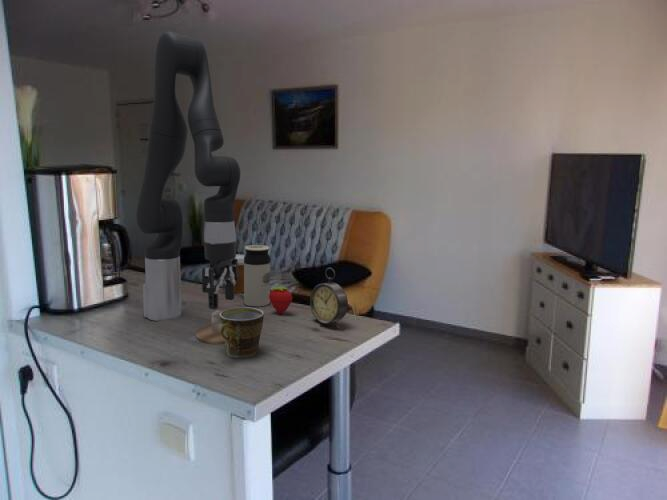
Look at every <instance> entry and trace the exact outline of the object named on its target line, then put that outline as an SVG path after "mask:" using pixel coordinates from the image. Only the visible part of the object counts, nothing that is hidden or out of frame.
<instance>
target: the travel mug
mask: <svg viewBox="0 0 667 500" xmlns="http://www.w3.org/2000/svg"><path fill="white" fill-rule="evenodd" d="M244 249H245V254H244V255H245V257H244V292H243V302H244V305H246V306H248V307H251V308H257V307H258V308H259V307H265V306H268V305H269V304H271V302H270V299H269V294H270V292H271V257H270V254H269V250H270V247H269V246H268V245H262V244H250V245H246V246H244Z"/></svg>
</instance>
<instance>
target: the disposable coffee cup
mask: <svg viewBox="0 0 667 500" xmlns="http://www.w3.org/2000/svg"><path fill="white" fill-rule="evenodd" d="M245 255H246V254H239V253H236V258H235V259H237V260H238V277H239V279H238V281H236V283H235V285H234V293H235V294H242V293H244V257H245ZM233 273H234V272H233ZM234 275H235V273H234ZM225 285H226V284H225V283H224V286H225ZM237 292H238V293H237Z"/></svg>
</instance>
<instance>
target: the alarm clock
mask: <svg viewBox="0 0 667 500" xmlns="http://www.w3.org/2000/svg"><path fill="white" fill-rule="evenodd" d="M328 270H332V271H333V277H328V274H327V273H328V272H327V271H328ZM325 276H326V278H327V282H324V283H318V284H317V285H315V286H314V287H313V289H312V290H311V293H310V297H309V305H310V306H309V307H310V310H311V313H312V315H313V317H314V318H315V321H316V322H317V321H318V322H319V323H320V324H321V323H322V324H324V325H329V324H333V323H334V325H335V327H336V330H340V327H339V323H338V322H339V321H341V320H343V319H344V317H345V316H346V314H347V311H348V308H349V307H348V306H349V301H348V297H347V296H348V295H347V294H346V292H345V290H344V289H343V287H342V286H341V285H339V284H338V283H336V282H332V280H334V279H335V278H336V272H335V270H334V269H333V268H332V267H326V269H325Z"/></svg>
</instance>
